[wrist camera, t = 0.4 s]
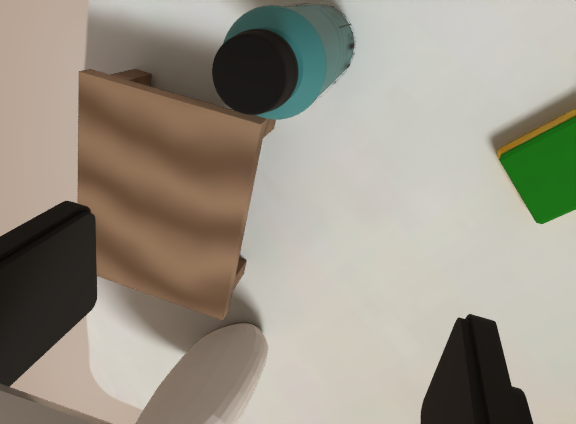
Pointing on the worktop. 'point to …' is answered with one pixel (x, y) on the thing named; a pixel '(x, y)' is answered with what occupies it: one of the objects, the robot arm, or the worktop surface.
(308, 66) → the beverage bottle
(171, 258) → the footstool
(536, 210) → the dish sponge
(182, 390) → the soap bottle
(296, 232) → the worktop surface
